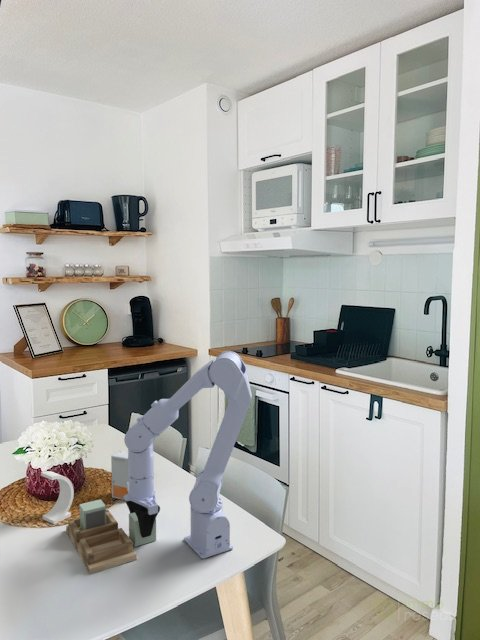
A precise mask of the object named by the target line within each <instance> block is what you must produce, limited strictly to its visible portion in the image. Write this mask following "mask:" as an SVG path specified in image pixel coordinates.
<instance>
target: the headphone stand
mask: <svg viewBox="0 0 480 640" xmlns="http://www.w3.org/2000/svg"><path fill="white" fill-rule="evenodd" d="M40 476H41V477H43V478H45V479H48V480H50V481H55V480H57V482H58V483H59V484H58V485H59V494H58V498H57V500H56V502H55V504H54V505H53V507H52V508H51V509H50V510H49V511H48V512H47V513H45V514H43V515H42V520H45V521H47V522H48V523H50V524H53V525H55V524H57V523H59V522H62V521H63V520H66V519H68V518H70V517H72V512H70V511H69V510H70V508H71V506H72V504H73V500H74V495H75V493H74V492H75V491H74V485H73V483H72V481H71V480H70V479H69V478H68V477H66V476H64V475H61V474H60V473H56V472H54V471H50V470H47V471H44V470H43V471H41V472H40Z"/></svg>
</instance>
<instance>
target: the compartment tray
mask: <svg viewBox="0 0 480 640" xmlns="http://www.w3.org/2000/svg"><path fill="white" fill-rule="evenodd" d="M65 528H66V533H67V535H68V537H69V538H70V540H71V542H72V544H73V546H74V548H75V549H76V551H77V553H78V555H79V556H80V559H81V560H82V562H83V564H84V566H85V568H86V570H87V571H88V573H89V575H91V574H95V573H98V572H101V571H105V570H108V569H110V568H114V567H116V566H120V565H121V566H122V565H123V564H126V563H130V562H133V561H136V560H137V553H136V552H135V550H134V544H133V542H132V541H131V540H130V538H129V535H127V533H126V531H125V530H124V529H123V528H122V527H120V528H119V522H118V521H117V520H116V519H115V517H114V516H113V515H112V513H111V512H110V511H109V509H106V524H105V525H101V526H97V527H93V528H89V529H86V530H82V531H81V529H80V516H77V517H73V518H70V519H68V525H66V526H65Z"/></svg>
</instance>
